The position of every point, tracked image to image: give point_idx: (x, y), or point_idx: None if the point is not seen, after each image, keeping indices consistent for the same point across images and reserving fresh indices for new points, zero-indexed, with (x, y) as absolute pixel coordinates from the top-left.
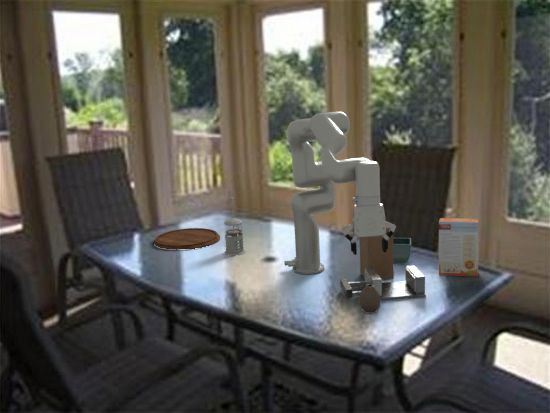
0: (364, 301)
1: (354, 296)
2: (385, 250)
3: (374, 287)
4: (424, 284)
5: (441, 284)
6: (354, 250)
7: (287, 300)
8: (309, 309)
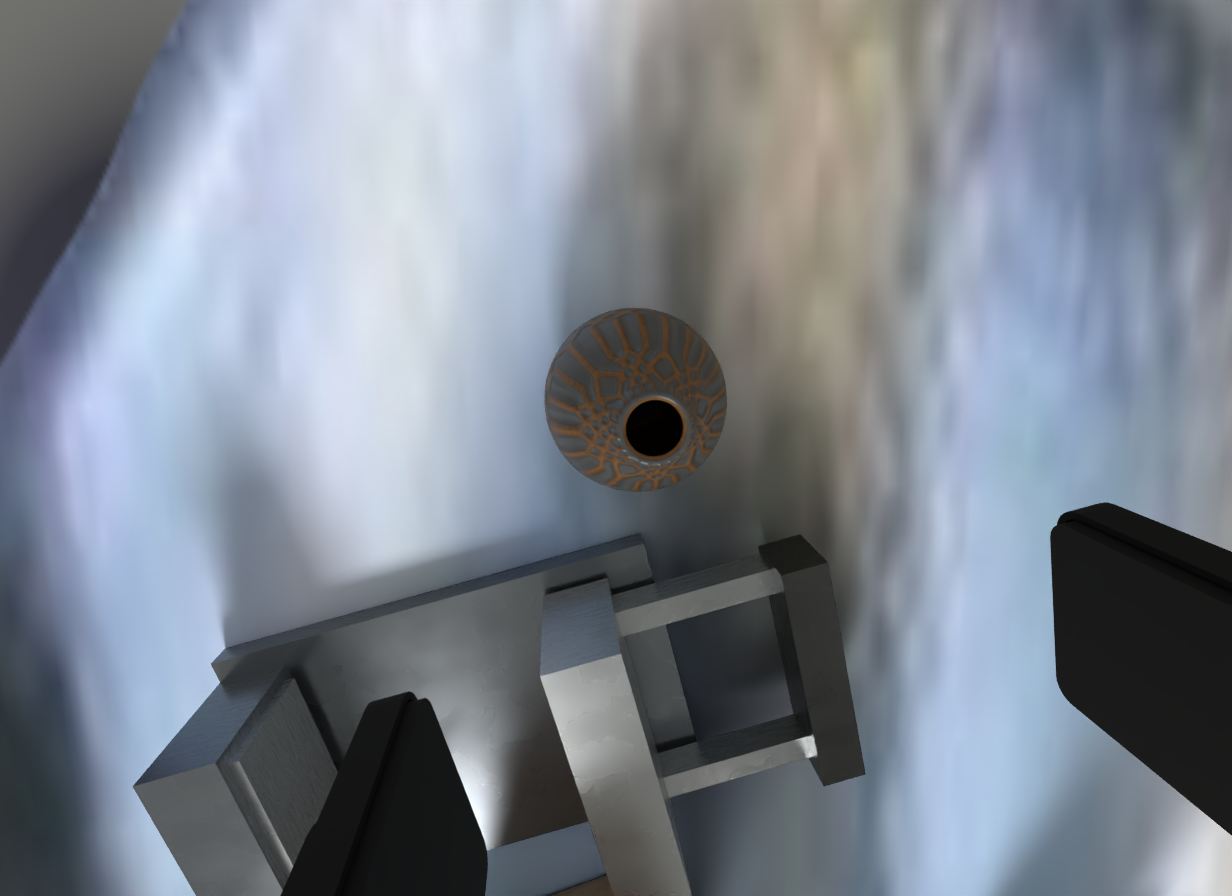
0: (683, 322)
1: (744, 560)
2: (381, 719)
3: (601, 617)
4: (184, 729)
5: (134, 875)
6: (1197, 546)
7: (1173, 527)
8: (1044, 384)
